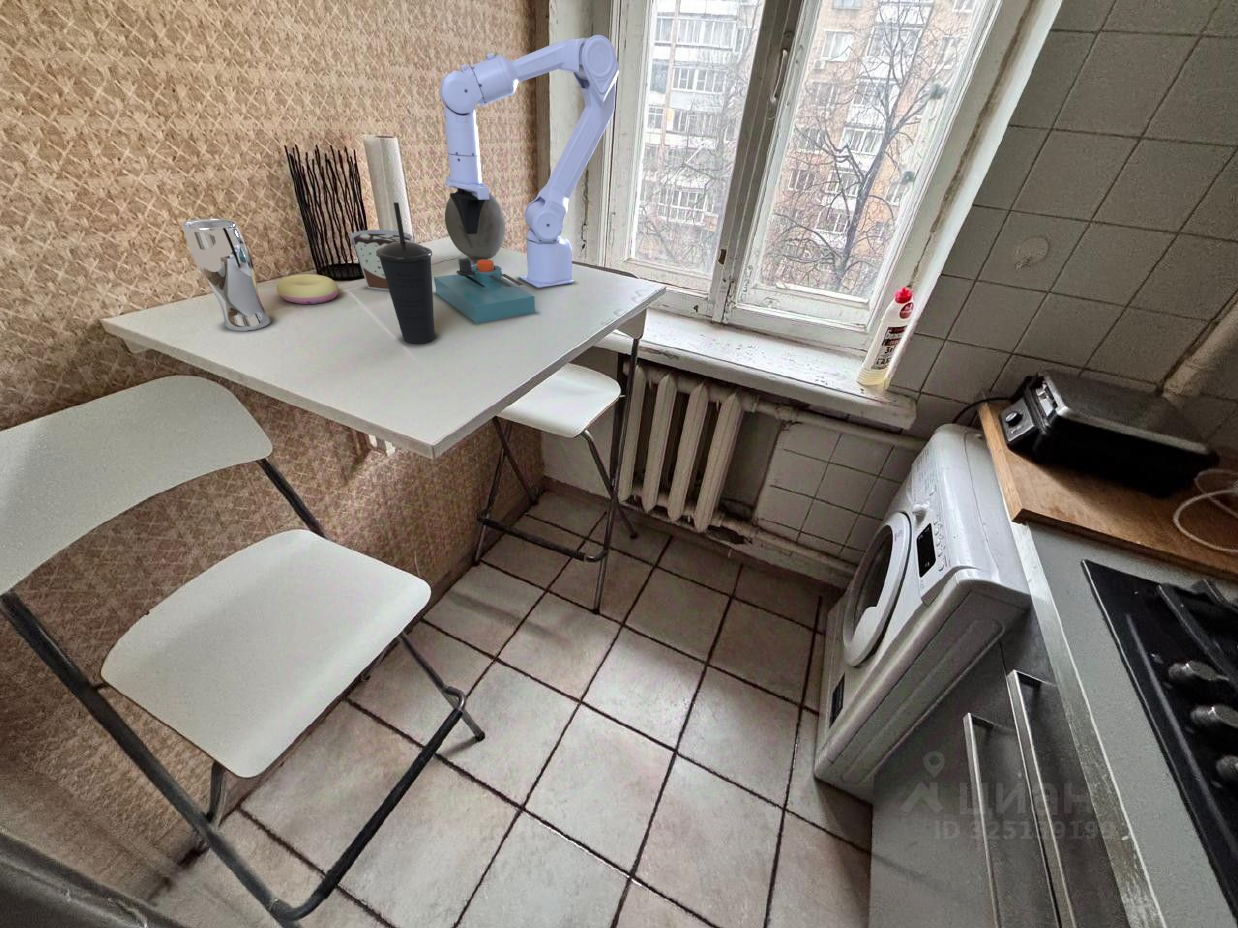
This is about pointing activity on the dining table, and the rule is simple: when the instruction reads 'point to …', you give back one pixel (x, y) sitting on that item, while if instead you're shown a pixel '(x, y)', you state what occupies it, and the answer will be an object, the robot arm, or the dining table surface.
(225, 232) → the chrome curved vase
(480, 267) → the button
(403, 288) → the drinking cup
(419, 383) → the dining table surface
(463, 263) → the slider
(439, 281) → the teal control box
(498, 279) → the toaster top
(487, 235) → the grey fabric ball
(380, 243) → the food container
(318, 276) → the donut
